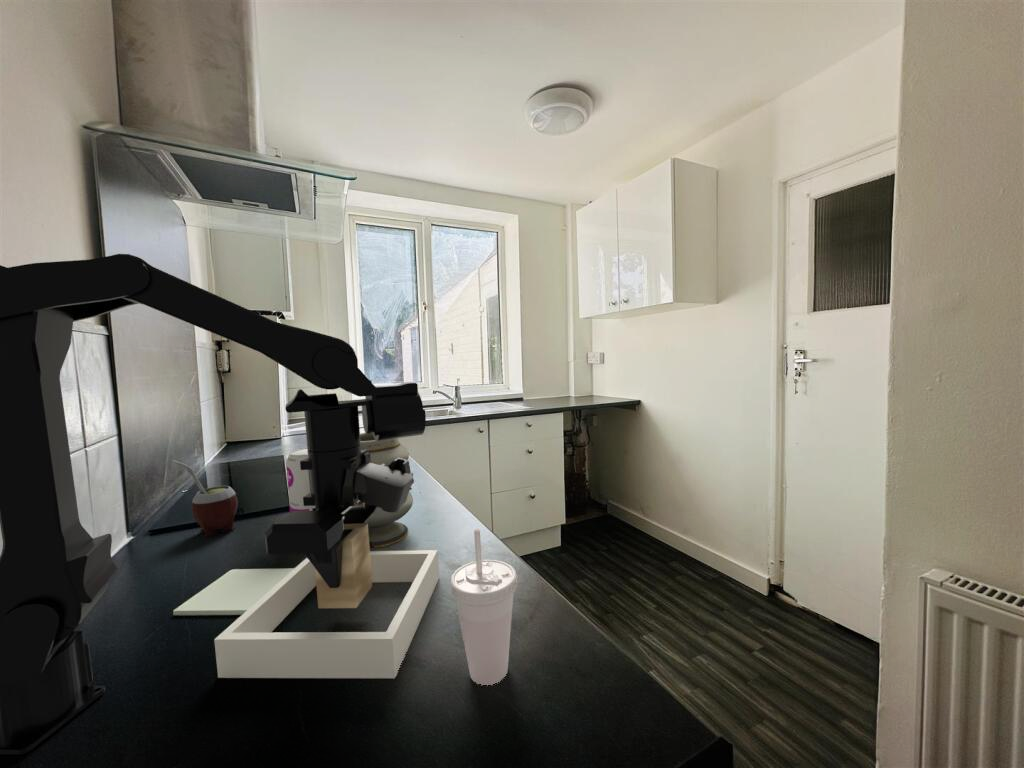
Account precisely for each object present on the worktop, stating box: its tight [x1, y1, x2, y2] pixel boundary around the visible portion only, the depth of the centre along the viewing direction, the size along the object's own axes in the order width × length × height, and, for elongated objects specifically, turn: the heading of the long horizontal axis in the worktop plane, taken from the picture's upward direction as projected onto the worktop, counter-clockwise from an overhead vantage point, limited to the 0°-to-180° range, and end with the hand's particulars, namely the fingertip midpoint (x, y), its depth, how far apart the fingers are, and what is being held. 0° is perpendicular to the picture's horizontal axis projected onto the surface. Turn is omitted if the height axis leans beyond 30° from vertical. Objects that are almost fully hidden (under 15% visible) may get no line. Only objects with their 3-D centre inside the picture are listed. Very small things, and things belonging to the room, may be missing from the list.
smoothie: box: [450, 528, 518, 687], centre depth 40 cm, size 6×6×14 cm
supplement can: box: [285, 447, 317, 513], centre depth 76 cm, size 8×8×15 cm
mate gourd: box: [170, 459, 239, 539], centre depth 77 cm, size 8×8×15 cm
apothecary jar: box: [360, 432, 414, 549], centre depth 72 cm, size 12×12×18 cm
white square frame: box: [213, 549, 440, 679], centre depth 49 cm, size 18×18×4 cm
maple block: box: [315, 523, 373, 609], centre depth 49 cm, size 4×4×8 cm
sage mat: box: [173, 567, 296, 616], centre depth 57 cm, size 10×10×1 cm
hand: (344, 575), depth 49 cm, fingers closed on maple block, 4 cm apart
